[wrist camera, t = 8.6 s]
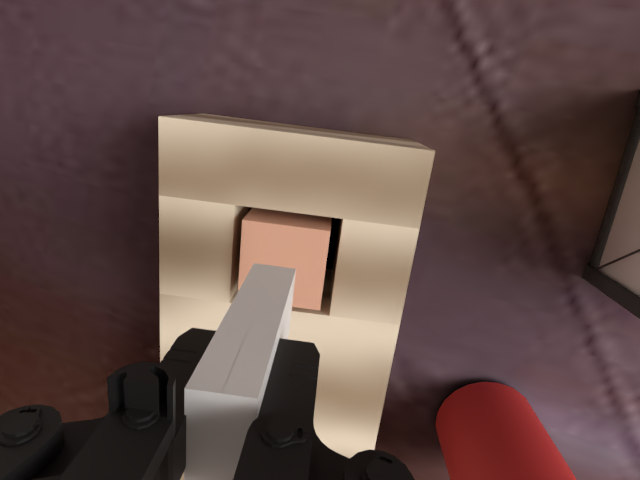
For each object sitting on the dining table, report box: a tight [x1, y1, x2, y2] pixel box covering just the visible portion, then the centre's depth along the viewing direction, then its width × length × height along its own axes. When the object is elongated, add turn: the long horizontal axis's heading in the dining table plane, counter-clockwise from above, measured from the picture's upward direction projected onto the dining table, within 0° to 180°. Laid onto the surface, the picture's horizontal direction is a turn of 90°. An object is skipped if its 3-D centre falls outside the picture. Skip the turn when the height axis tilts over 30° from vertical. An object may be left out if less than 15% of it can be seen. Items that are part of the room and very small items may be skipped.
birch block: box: [158, 113, 435, 480], centre depth 25 cm, size 26×12×6 cm, turn 173°
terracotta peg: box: [238, 208, 332, 310], centre depth 22 cm, size 4×4×6 cm
